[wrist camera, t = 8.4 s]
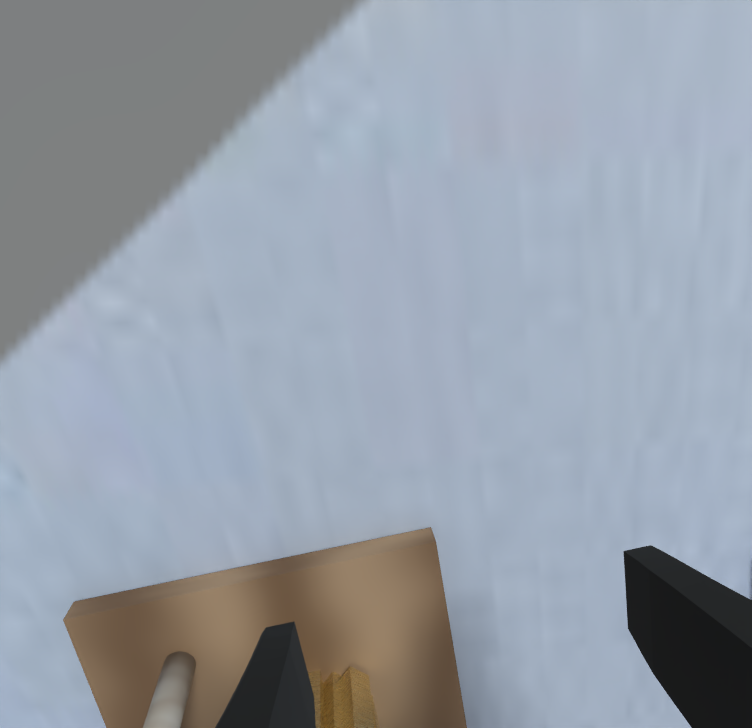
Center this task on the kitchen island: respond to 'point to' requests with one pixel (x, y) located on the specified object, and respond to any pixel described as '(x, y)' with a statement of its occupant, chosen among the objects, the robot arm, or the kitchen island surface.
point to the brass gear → (343, 700)
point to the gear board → (269, 608)
